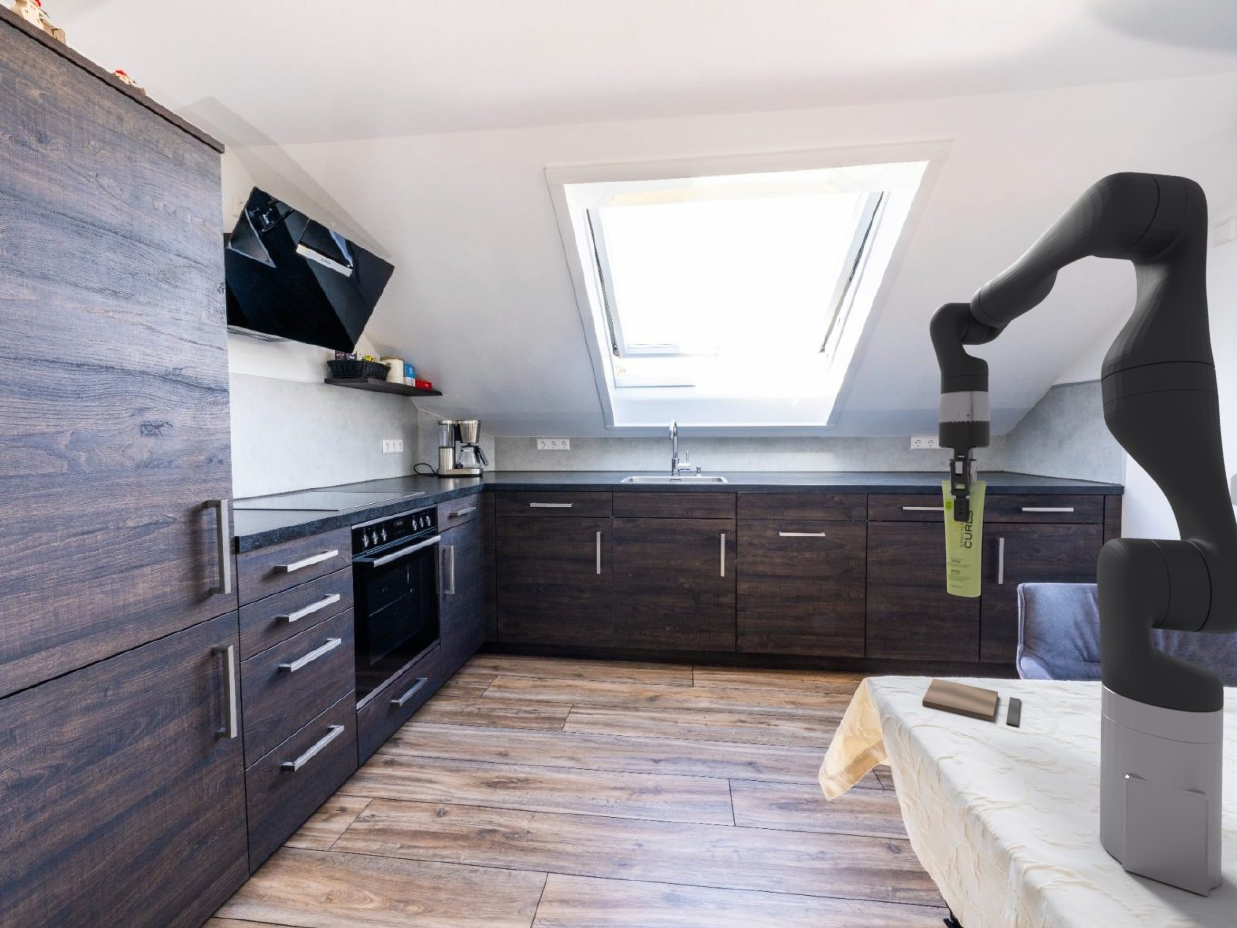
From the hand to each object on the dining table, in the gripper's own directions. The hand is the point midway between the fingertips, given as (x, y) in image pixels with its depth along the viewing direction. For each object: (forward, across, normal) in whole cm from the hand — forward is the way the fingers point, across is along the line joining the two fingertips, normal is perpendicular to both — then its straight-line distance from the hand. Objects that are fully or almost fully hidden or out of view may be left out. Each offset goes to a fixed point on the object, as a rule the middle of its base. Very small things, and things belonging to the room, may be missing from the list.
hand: (963, 519), depth 99 cm
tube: (+13, 0, 0) cm, 13 cm away
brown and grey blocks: (+31, 0, -2) cm, 31 cm away
